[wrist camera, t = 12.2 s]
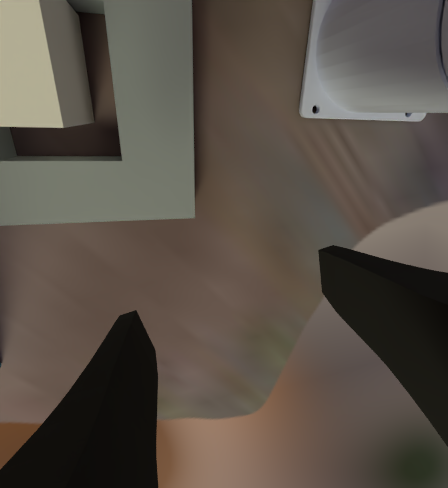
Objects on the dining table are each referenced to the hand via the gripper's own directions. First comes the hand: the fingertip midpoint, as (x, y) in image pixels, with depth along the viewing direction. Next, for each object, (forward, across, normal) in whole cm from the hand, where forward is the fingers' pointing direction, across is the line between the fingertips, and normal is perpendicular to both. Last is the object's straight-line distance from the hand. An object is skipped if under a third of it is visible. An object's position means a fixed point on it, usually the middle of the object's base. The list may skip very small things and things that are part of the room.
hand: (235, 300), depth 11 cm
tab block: (+10, +5, -10) cm, 15 cm away
